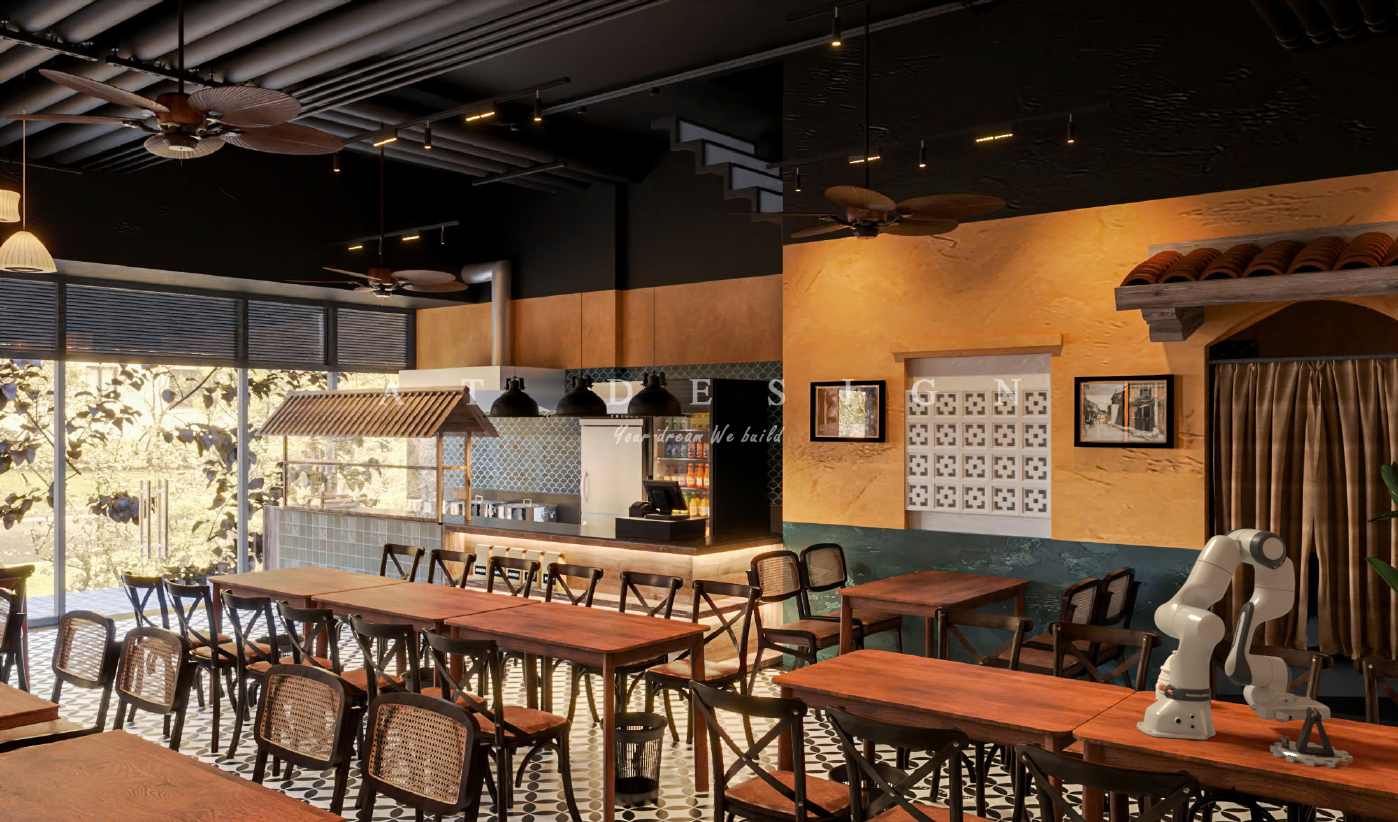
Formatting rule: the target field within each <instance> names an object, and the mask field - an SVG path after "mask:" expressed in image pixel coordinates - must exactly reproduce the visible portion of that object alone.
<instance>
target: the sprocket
mask: <svg viewBox="0 0 1398 822" xmlns="http://www.w3.org/2000/svg"><path fill="white" fill-rule="evenodd" d="M1296 742H1297V741H1295V740H1294V741H1293V740H1292V741H1291V740H1290V736H1288V735H1281V736H1280V741H1277V742H1274V745H1272V744H1271V745H1270V746H1269V748H1270V751H1269V752H1270V753H1272V755H1273V756H1274V757H1275V758H1283V759H1285V761H1286V762H1290V763H1299V764H1300V763H1301V764H1305V765H1306V766H1309V767H1315V766H1323V767H1324V766H1325V767H1326V768H1336V766H1340V765H1341V766H1340V767H1345V768H1346V767H1350V764H1354V763H1353V755H1349V752H1347V751H1346V750H1337V749H1335V748H1336V747H1334V746H1332V749H1333V751H1334V754H1335V756H1329V755H1319V754H1309V753H1299V752H1298V750H1297V748H1296V747H1295V744H1296ZM1307 747H1315V748H1323V745H1321V744H1320V745H1319V744H1316V742H1308V745H1307ZM1349 762H1350V763H1349Z"/></svg>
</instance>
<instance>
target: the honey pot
mask: <svg viewBox="0 0 1398 822" xmlns="http://www.w3.org/2000/svg"><path fill="white" fill-rule="evenodd" d="M1177 651H1178V650H1172V654H1171V655H1169V656H1168V658H1167V659H1166V661H1165V662H1164V664H1163V665H1160V670H1161V671H1160V674H1158V679H1157V682H1156V684H1155V700H1156V699H1157V700H1159V699H1160V698H1162V697H1163V696H1164V691H1161V690H1159V689H1158V687H1159V686H1158V685H1159V684H1163V685H1165V686H1168V685H1169V684H1170V659H1171V657H1172V656H1174V655H1175V654H1176V653H1177Z"/></svg>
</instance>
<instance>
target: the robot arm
mask: <svg viewBox="0 0 1398 822" xmlns="http://www.w3.org/2000/svg"><path fill="white" fill-rule="evenodd" d="M1241 563H1246V564H1248V565H1252V566H1253V569H1254V570H1255V581H1254V591H1253V593H1252V596H1251V598H1250V599H1249V601H1247V602H1245V603H1243V605H1242V607H1241V609H1240V613H1239V616H1238V618H1237V623H1236V625H1235V626H1236V627H1235V630H1234V635H1233V639H1232V643H1231V645H1230V646H1231V647H1230V650H1229V653H1228V654H1227V657H1226V660H1225V662H1224V674H1225V675H1226V677H1227V679H1228V680H1230V682H1232V684H1234V685H1235V686H1241V687H1242V686H1245V687H1244V689H1243V697H1244V699H1245V702H1246V703H1247V704H1248V705H1249V706H1248V708H1249V710H1251V711H1254V714H1255V715H1256V716H1257V717H1258V718H1260V719H1262V720H1271V721H1272V720H1275V721H1277V722H1281V723H1287V722H1292V721H1296V720H1297V721H1299V720H1300V721H1305V720H1306V716H1307V713H1306V709H1307V708H1308V707H1311V708H1312V710H1313V711H1314V713H1312V714H1311V716H1312V717H1313V716H1314V717H1315V716H1316V714H1317V712H1316V710H1315V709H1314V707H1315V708H1316V709H1317V710H1318V711H1319V713H1320V714H1321V715H1322V722H1325V721H1328V720H1330V719H1331V710H1330V707H1329V706H1327V705H1325V704H1324V703H1322V702H1319V701H1317V700H1314V699H1312V697H1310V696H1308V695H1301V694H1300V695H1299V694H1293V693H1289V690H1290V687H1291V685H1292V675H1293V674H1292V671H1291V669H1290V667H1289V665H1288V664H1287V662H1286V661H1285V660H1284V659H1283V658H1282V657H1280V656H1279V657H1277V656H1272V655H1271V656H1268V655H1259V654H1252V653H1251V654H1250V649H1251V645H1252V641H1253V636H1254V632H1255V630H1256V628H1257V627H1258V626H1259V625H1260V624H1261V623H1264V622H1267V621H1271V620H1274V619H1278V618H1281V617H1283V616H1285V615H1286V614H1288V613H1289V612H1290V611H1291V610H1292V609H1293V605H1294V602H1295V594H1296V593H1295V590H1296V589H1295V587H1296V579H1295V578H1296V577H1295V570H1294V565H1293V564H1294V563H1293V561H1292V560H1291V559H1290V558H1289V557H1288V554H1287V548H1286V544H1285V541H1284V539H1283V538H1282V537H1281V536H1280V535H1278V534H1276V533H1274V532H1272V531H1269V530H1260V529H1256V528H1255V529H1254V528H1236V529H1233V530H1230V531H1227V532H1226V533H1225V534H1224V535H1220V534H1219V535H1217V534H1216V535H1215V536H1213V537H1212V536H1211V538H1209V540H1208V541H1207V542H1206V544H1205V546H1204V547H1203V548H1202V550H1201V552H1200V553H1199V556H1198V557H1197V560H1196V561H1195V563H1194V565H1193V567H1192V570H1191V572H1190V573H1189V575H1188V578H1187V580H1186V581H1185V582H1184V583H1183V586H1182V587H1181V588H1180V589H1179V590H1178V592H1176V593H1175V595H1174V596H1173V597H1172V598H1170V599H1169V600H1168V601H1167V602H1165V603H1163V604H1161V605H1160V606H1158V608H1157V609H1156V610H1155V613H1154V617H1153V618H1154V619H1153V620H1154V623H1155V625H1156V628H1158V629H1159V630H1160V631H1161V632H1162V633H1164V634H1165V635H1167V636H1169V637H1171V638H1175V639H1177V640H1179V644H1178V648H1177V650H1176V651H1177V653H1176V654H1175V655H1174V656H1172V657H1171V659H1170V684H1169V685H1168V686H1165V685H1163V684H1159V685H1158V686H1159V687H1158V689H1159V690H1161V691H1164V696H1163V697H1162V698H1160V699H1159V700H1158V701H1156V700H1155V702H1152V704H1150V705H1149V706H1148V707H1147V708H1146V709H1145V712H1144V719H1143V721H1137V722H1136V728H1137V727H1138V728H1137V729H1138V730H1139V731H1140V730H1141V731H1140V732H1142V733H1144V734H1147V735H1149V736H1151V737H1154V738H1169V739H1170V738H1171V739H1173V738H1174V739H1191V740H1204V741H1205V740H1208V739H1209V738H1211V737H1214V736H1216V734H1217V732H1216V730H1215V727H1214V722H1213V718H1212V711H1211V705H1212V689H1211V687H1210V661H1211V657H1212V654H1213V651H1214V649H1215V647H1216V646H1217V644H1218V643H1220V642H1221V641H1222V640H1223V639H1224V636H1225V633H1226V628H1225V623H1224V621H1223V619H1222V618H1221V617H1220V616H1218V615H1217V614H1215V613H1213V612H1211V611H1210V610H1208V609H1209V608H1210V607H1212V605H1214V604H1215V603H1217V602H1219V601H1220V600H1222V599H1223V598H1224V595H1225V593H1226V592H1227V589H1228V587H1229V585H1230V584H1231V583H1230V582H1231V580H1232V579H1233V577H1234V574H1235V572H1236V569H1237V567H1238V565H1240V564H1241Z"/></svg>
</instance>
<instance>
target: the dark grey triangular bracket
mask: <svg viewBox="0 0 1398 822" xmlns="http://www.w3.org/2000/svg"><path fill="white" fill-rule="evenodd" d="M1314 709H1315V710H1316V712H1317V714H1316V716H1315V717H1314V716H1313V717H1312V716H1311V714H1312V713H1314V711H1313V710H1312V708H1311V707H1308V708H1307V709H1306V713H1307V716H1306V720H1304V722H1303V725H1302V727H1301V729H1300V733H1299V734H1298V736H1297V739H1296V741H1295V742H1296V744H1295V747H1296V748H1297V750H1298V752H1299V753H1309V754H1319V755H1329V756H1335V754H1334V751H1333V749H1332V747H1333V746H1332V744H1331V742H1330V739H1329V737H1328V735H1327V732H1326V730H1325V728H1324V725H1323V721H1322V715H1321V714H1320V713H1319V711H1318V710H1317V709H1316V708H1315V707H1314ZM1314 725H1316V728H1317V732H1318V735H1319V738H1320V741H1321V746H1323V748H1315V747H1307V745H1308V742H1309V741H1310V738H1311V734H1312V731H1313V728H1314ZM1309 743H1310V742H1309Z"/></svg>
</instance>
